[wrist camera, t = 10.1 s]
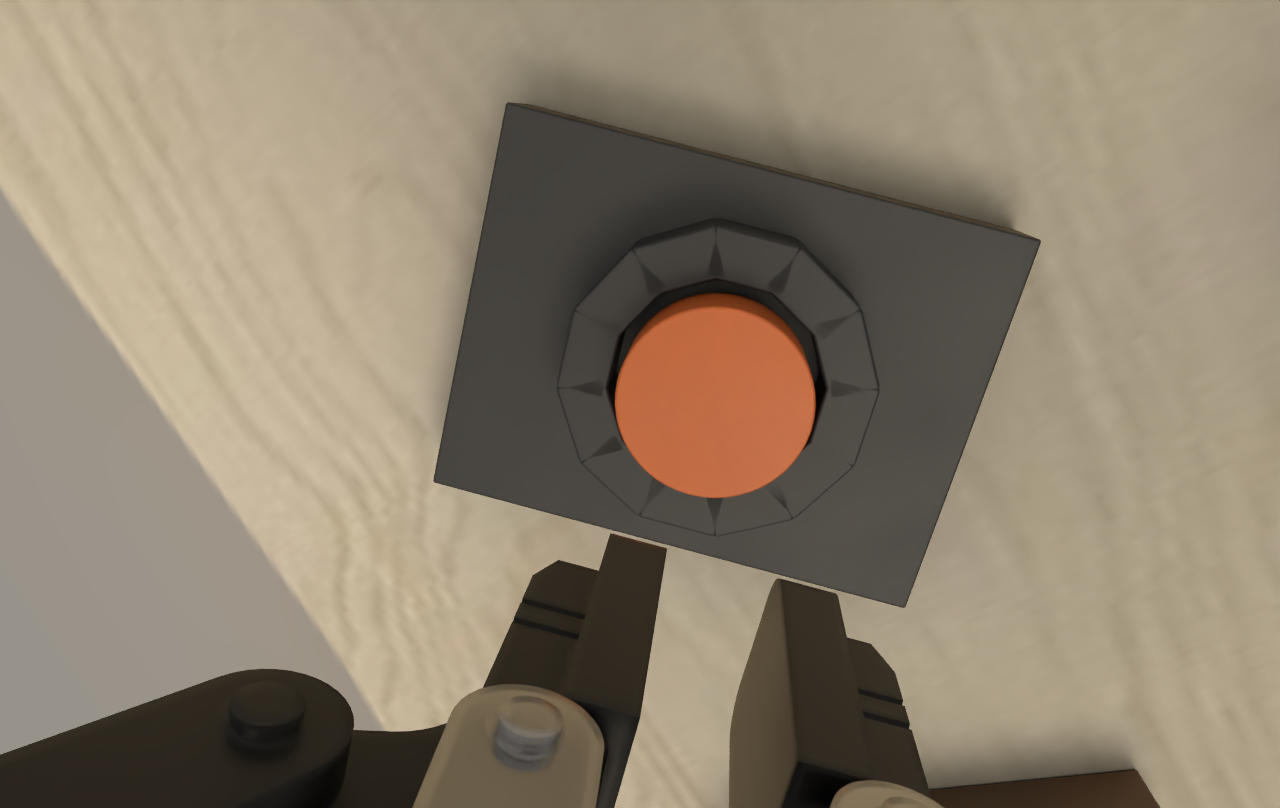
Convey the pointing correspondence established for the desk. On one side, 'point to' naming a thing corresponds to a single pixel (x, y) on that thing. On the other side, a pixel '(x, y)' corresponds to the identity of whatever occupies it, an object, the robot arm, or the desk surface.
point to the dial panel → (1054, 793)
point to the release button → (715, 396)
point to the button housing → (741, 265)
